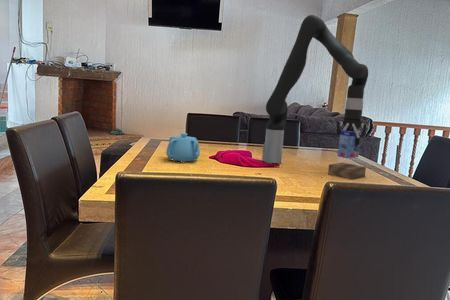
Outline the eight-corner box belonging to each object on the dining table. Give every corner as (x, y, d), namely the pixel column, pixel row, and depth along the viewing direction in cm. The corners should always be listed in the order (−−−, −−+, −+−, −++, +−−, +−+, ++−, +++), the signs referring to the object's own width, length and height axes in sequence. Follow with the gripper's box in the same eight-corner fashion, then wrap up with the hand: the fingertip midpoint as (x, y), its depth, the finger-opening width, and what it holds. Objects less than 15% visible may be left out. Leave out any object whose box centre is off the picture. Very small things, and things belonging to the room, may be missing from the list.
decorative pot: (198, 164, 184) (199, 136, 182) (164, 162, 183) (165, 134, 181) (199, 158, 200) (201, 132, 198) (168, 156, 199) (169, 130, 197)
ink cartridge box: (347, 158, 173) (350, 126, 171) (336, 156, 178) (340, 125, 175) (359, 157, 180) (362, 126, 178) (348, 155, 184) (352, 125, 182)
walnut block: (327, 175, 180) (329, 164, 179) (341, 172, 188) (342, 162, 187) (351, 180, 171) (352, 169, 171) (364, 177, 180) (365, 167, 179)
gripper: (335, 107, 176) (331, 143, 179) (367, 109, 168) (363, 148, 171) (340, 107, 182) (337, 142, 185) (372, 109, 174) (368, 146, 177)
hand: (349, 145), depth 178 cm, fingers closed on ink cartridge box, 6 cm apart
